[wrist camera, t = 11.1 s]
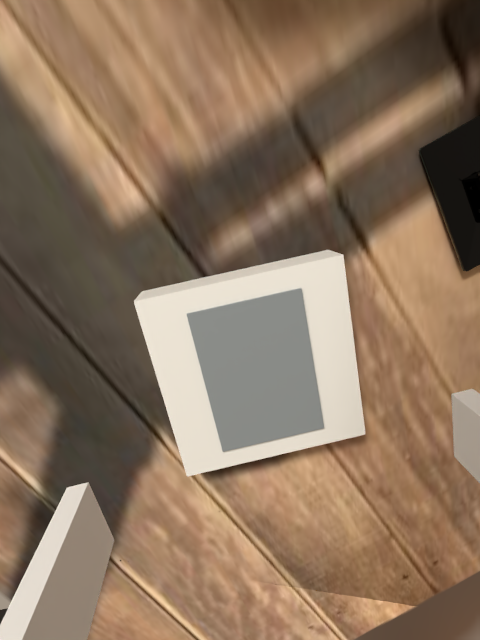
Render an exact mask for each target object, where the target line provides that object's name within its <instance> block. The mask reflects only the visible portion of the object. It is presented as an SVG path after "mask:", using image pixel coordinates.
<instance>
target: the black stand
mask: <svg viewBox="0 0 480 640" xmlns="http://www.w3.org/2000/svg"><path fill="white" fill-rule="evenodd" d="M419 153H420V156H421V158H422V161H423V164H424V166H425V169H426V172H427V175H428V177H429V180H430V183H431V186H432V188H433V191H434V194H435V196H436V199H437V202H438V205H439V207H440V210H441V213H442V216H443V218H444V221H445V224H446V227H447V229H448V232H449V235H450V237H451V240H452V243H453V246H454V248H455V251H456V254H457V257H458V259H459V262H460V265H461V267H462V270H463V271H469V270H470V269H472V268H474V267H476V266H478V265H480V116H478V117H476V118H474V119H472V120H471V121H469V122H467V123H465V124H463V125H462V126H460V127H458V128H456V129H454V130H453V131H451V132H449V133H447V134H445V135H444V136H442V137H440V138H438V139H436V140H435V141H433V142H431V143H429V144H427V145H425V146H424V147H422V148H420V150H419Z"/></svg>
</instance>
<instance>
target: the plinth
mask: <svg viewBox="0 0 480 640" xmlns="http://www.w3.org/2000/svg"><path fill="white" fill-rule="evenodd" d="M134 304H135V307H136V311H137V314H138V317H139V320H140V324H141V327H142V330H143V334H144V337H145V340H146V343H147V347H148V350H149V353H150V357H151V360H152V363H153V366H154V370H155V373H156V376H157V379H158V383H159V386H160V389H161V393H162V396H163V399H164V402H165V406H166V409H167V412H168V416H169V419H170V422H171V425H172V429H173V432H174V435H175V439H176V442H177V445H178V448H179V452H180V455H181V458H182V461H183V465H184V468H185V471H186V475H187V476H191V475H196V474H200V473H204V472H208V471H213V470H217V469H221V468H225V467H230V466H234V465H238V464H242V463H247V462H251V461H255V460H259V459H264V458H268V457H272V456H276V455H280V454H285V453H289V452H293V451H297V450H302V449H306V448H310V447H314V446H319V445H323V444H327V443H331V442H336V441H340V440H344V439H348V438H353V437H357V436H361V435H365V426H364V418H363V410H362V402H361V394H360V386H359V378H358V370H357V362H356V353H355V345H354V337H353V329H352V321H351V313H350V305H349V297H348V289H347V281H346V273H345V265H344V257H343V254H340V253H337V252H333V251H330V250H325V251H321V252H316V253H312V254H307V255H303V256H299V257H294V258H290V259H285V260H281V261H276V262H272V263H267V264H263V265H258V266H254V267H249V268H245V269H240V270H236V271H231V272H227V273H222V274H218V275H213V276H209V277H205V278H200V279H196V280H191V281H187V282H182V283H178V284H173V285H169V286H164V287H160V288H155V289H151V290H146V291H142V292H141V293H140V294H139V296H138V297H137V298H136V299H135V301H134Z"/></svg>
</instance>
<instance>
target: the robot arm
mask: <svg viewBox="0 0 480 640" xmlns="http://www.w3.org/2000/svg"><path fill="white" fill-rule="evenodd" d="M452 417H453V440H454V457H455V458H456V459H457V460H458V461H459V462H460V463H461V464H462V465H463V466H464V467H465V468H466V469H467V470H468V472H469V473H470V474H471V475H472V476H473V477H474V478H475V479H476V480H477V481H478V482H479V483H480V394H479V393H478V392H477V391H475V390H474V389H469V390H465V391H461V392H457V393H453V394H452ZM113 543H114V538H113V536H112V534H111V532H110V529H109V527H108V525H107V523H106V520H105V518H104V516H103V514H102V512H101V509H100V507H99V505H98V503H97V500H96V498H95V496H94V494H93V492H92V489H91V487H90V485H89V483H84V484H80V485H76V486H71V487H67V489H66V491H65V493H64V495H63V497H62V499H61V501H60V503H59V505H58V507H57V509H56V511H55V513H54V515H53V517H52V519H51V521H50V523H49V525H48V528H47V530H46V532H45V534H44V536H43V538H42V540H41V542H40V544H39V546H38V548H37V550H36V552H35V554H34V556H33V558H32V560H31V562H30V564H29V566H28V569H27V571H26V573H25V575H24V577H23V579H22V581H21V583H20V585H19V587H18V589H17V591H16V593H15V595H14V597H13V599H12V601H11V603H10V606H9V607H8V608H7V609H3V610H0V640H87V638H88V634H89V630H90V627H91V623H92V619H93V616H94V612H95V608H96V605H97V601H98V598H99V594H100V590H101V587H102V583H103V579H104V576H105V572H106V568H107V565H108V561H109V557H110V554H111V550H112V546H113Z"/></svg>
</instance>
